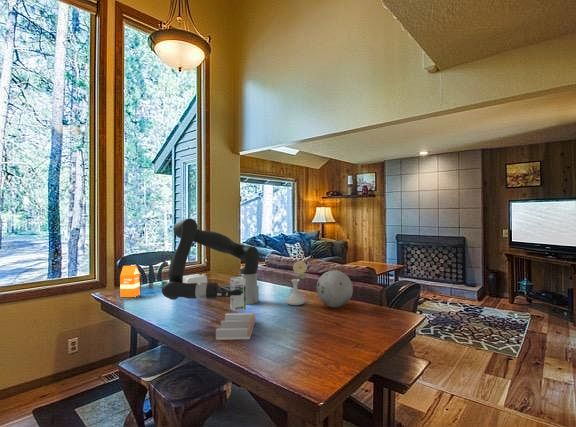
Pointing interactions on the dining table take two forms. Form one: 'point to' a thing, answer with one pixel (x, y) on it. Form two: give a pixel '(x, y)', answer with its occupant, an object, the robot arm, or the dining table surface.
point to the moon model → (334, 288)
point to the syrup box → (238, 300)
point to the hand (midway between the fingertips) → (242, 290)
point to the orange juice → (129, 282)
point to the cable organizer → (194, 279)
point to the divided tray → (236, 326)
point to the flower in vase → (296, 297)
